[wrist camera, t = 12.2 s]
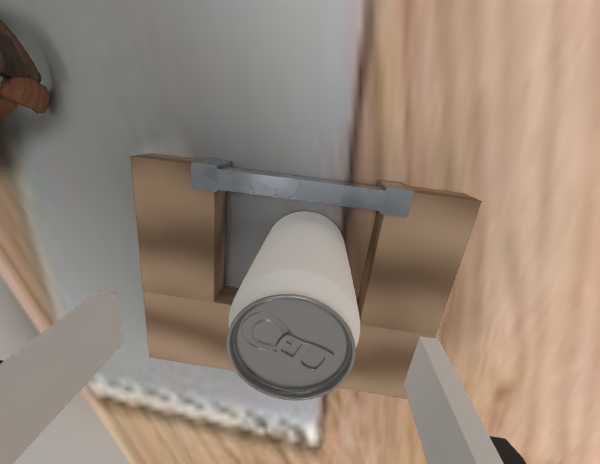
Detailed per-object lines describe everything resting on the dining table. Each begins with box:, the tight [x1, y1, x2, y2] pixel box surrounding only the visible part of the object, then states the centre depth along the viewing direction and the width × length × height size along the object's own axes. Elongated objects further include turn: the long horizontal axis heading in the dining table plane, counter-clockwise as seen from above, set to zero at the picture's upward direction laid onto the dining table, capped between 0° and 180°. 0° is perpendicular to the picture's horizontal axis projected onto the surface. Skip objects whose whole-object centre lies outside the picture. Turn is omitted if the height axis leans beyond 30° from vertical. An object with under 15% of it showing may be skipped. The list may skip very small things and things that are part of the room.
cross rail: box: [191, 158, 414, 218], centre depth 20 cm, size 2×15×3 cm, turn 83°
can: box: [227, 211, 360, 400], centre depth 18 cm, size 6×6×12 cm
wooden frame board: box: [131, 154, 481, 399], centre depth 23 cm, size 18×24×2 cm
